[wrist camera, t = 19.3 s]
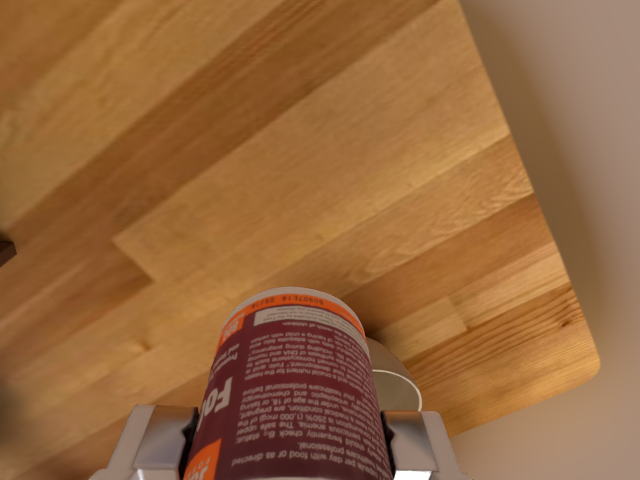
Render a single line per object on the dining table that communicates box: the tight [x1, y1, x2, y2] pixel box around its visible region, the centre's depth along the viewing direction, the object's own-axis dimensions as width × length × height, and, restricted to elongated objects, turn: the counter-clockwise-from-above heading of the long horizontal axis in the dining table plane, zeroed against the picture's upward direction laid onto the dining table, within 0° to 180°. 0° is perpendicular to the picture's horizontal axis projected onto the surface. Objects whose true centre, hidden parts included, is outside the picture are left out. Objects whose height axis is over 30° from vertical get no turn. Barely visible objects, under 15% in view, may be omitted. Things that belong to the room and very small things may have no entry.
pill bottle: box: [183, 287, 393, 480], centre depth 10 cm, size 5×5×8 cm
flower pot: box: [366, 337, 422, 412], centre depth 39 cm, size 10×10×7 cm
